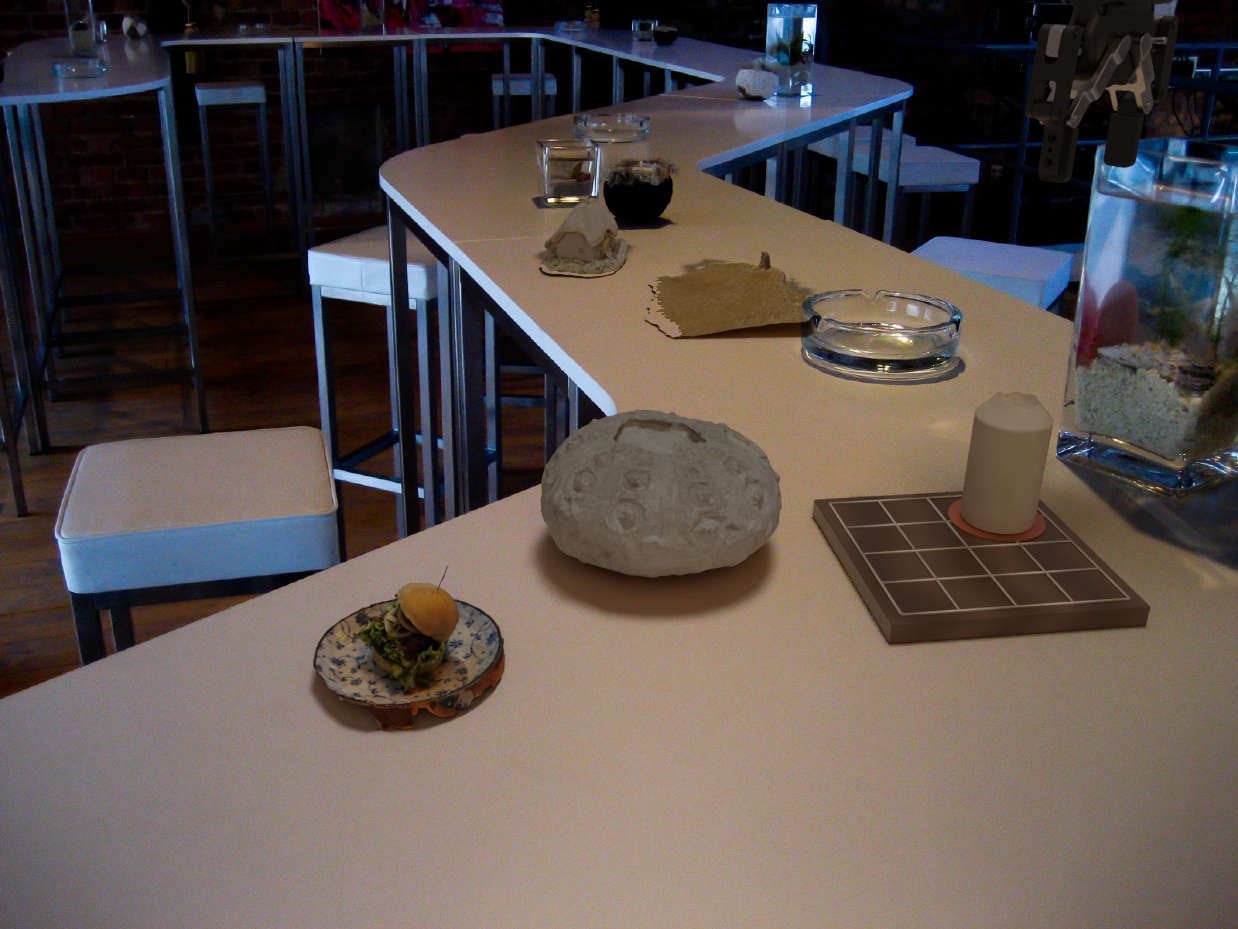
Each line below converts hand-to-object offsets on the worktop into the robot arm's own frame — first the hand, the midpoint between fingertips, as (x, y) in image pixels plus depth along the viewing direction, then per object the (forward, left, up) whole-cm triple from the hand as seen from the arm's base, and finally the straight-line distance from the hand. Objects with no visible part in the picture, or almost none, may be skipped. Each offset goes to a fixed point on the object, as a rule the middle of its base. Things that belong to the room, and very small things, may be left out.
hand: (1087, 173), depth 79 cm
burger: (+50, +18, -27) cm, 59 cm away
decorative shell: (+32, +5, -27) cm, 42 cm away
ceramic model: (+30, -77, -27) cm, 87 cm away
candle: (+6, +6, -25) cm, 26 cm away
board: (+10, +10, -26) cm, 30 cm away
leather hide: (+14, -55, -27) cm, 63 cm away
